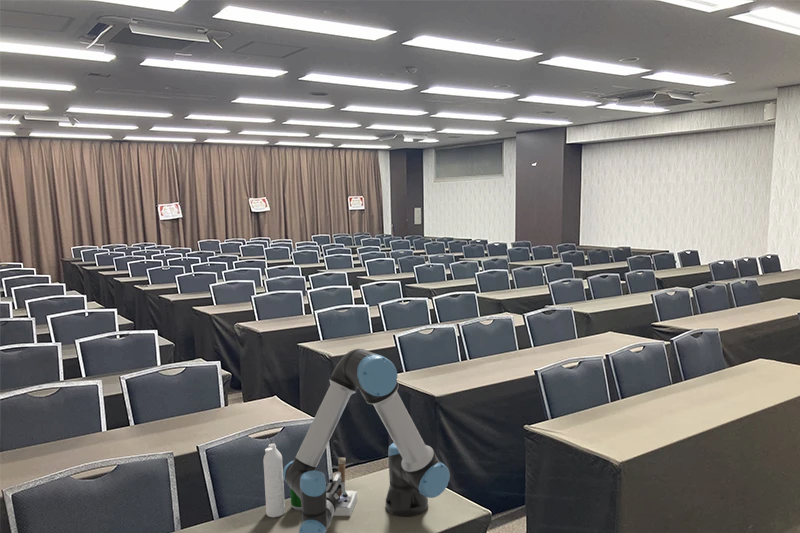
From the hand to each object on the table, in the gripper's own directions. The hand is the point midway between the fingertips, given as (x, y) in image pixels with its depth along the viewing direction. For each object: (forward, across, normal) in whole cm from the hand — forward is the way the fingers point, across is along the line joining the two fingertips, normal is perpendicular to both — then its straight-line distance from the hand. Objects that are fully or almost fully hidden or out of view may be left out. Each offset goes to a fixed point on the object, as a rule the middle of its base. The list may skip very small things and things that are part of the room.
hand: (339, 475), depth 203 cm
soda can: (-1, -14, -12) cm, 18 cm away
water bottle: (-7, -22, -12) cm, 26 cm away
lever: (0, 0, -7) cm, 7 cm away
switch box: (0, 0, -11) cm, 11 cm away
